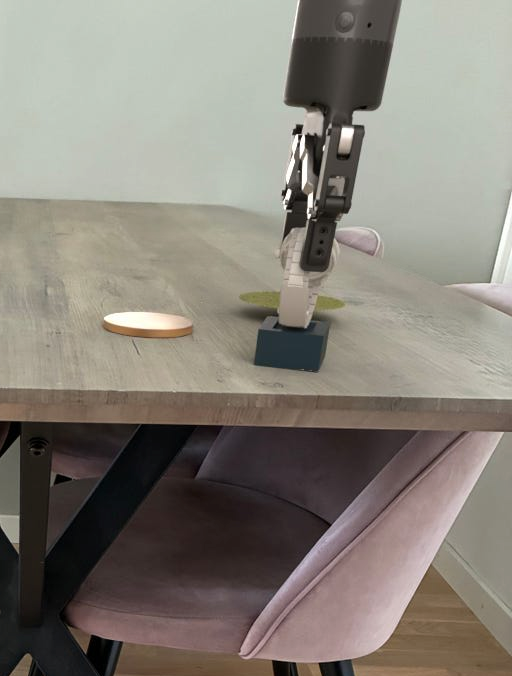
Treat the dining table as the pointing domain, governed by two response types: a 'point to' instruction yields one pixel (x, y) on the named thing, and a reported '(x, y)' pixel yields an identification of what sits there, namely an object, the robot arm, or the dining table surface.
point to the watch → (295, 313)
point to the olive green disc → (273, 300)
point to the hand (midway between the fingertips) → (301, 264)
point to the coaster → (148, 324)
